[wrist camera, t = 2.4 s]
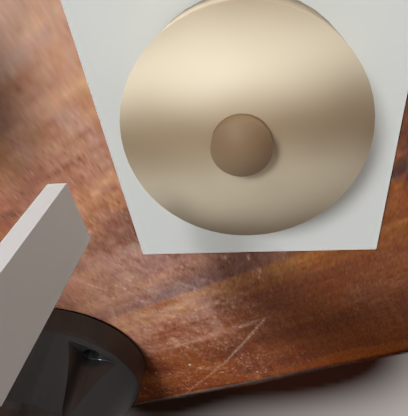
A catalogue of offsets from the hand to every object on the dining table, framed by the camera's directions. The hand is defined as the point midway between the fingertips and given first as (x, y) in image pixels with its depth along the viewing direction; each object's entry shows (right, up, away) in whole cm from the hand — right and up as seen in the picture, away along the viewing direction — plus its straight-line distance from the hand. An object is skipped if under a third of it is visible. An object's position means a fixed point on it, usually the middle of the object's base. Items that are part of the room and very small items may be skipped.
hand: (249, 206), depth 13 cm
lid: (0, +5, +7) cm, 8 cm away
